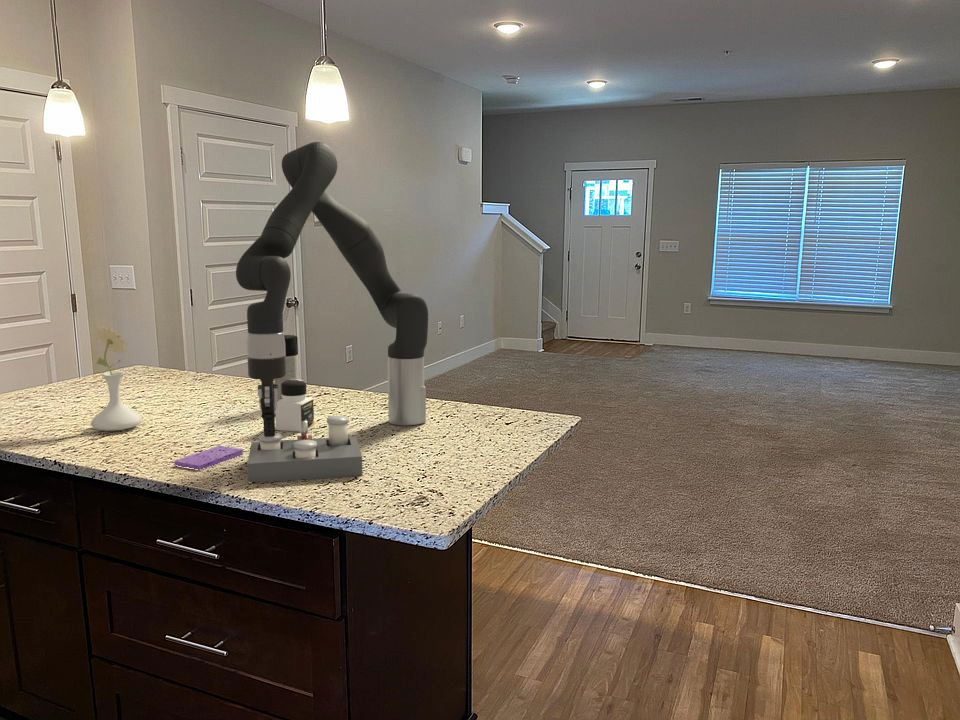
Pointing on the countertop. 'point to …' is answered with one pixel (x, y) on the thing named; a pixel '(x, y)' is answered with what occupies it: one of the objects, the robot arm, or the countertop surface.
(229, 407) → the countertop surface
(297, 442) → the knob side
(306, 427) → the brown boxy piece
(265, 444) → the knob
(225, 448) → the sponges
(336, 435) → the knob
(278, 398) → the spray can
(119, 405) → the flower in vase
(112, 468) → the countertop surface
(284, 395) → the medicine bottle
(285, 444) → the mount
